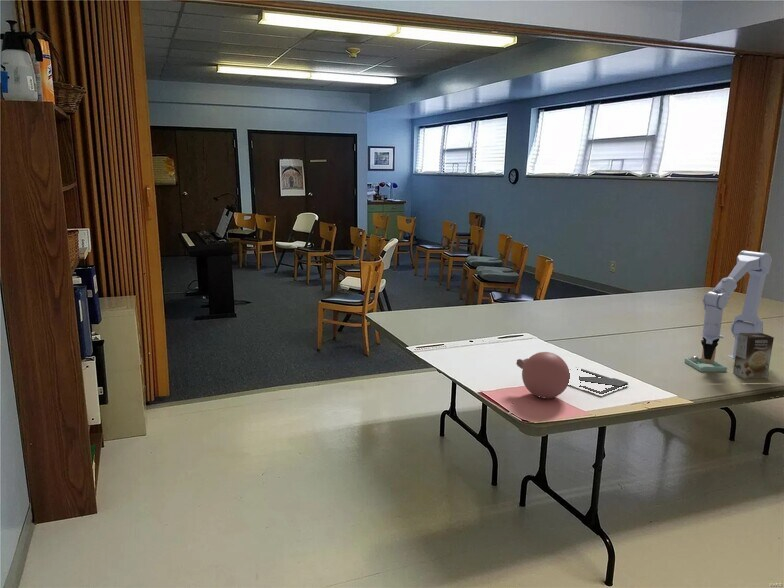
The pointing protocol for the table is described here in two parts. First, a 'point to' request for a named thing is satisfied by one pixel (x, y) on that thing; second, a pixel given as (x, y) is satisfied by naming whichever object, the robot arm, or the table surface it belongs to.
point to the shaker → (707, 359)
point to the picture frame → (602, 382)
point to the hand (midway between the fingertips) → (708, 357)
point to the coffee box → (753, 355)
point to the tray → (706, 366)
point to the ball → (694, 359)
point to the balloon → (544, 374)
